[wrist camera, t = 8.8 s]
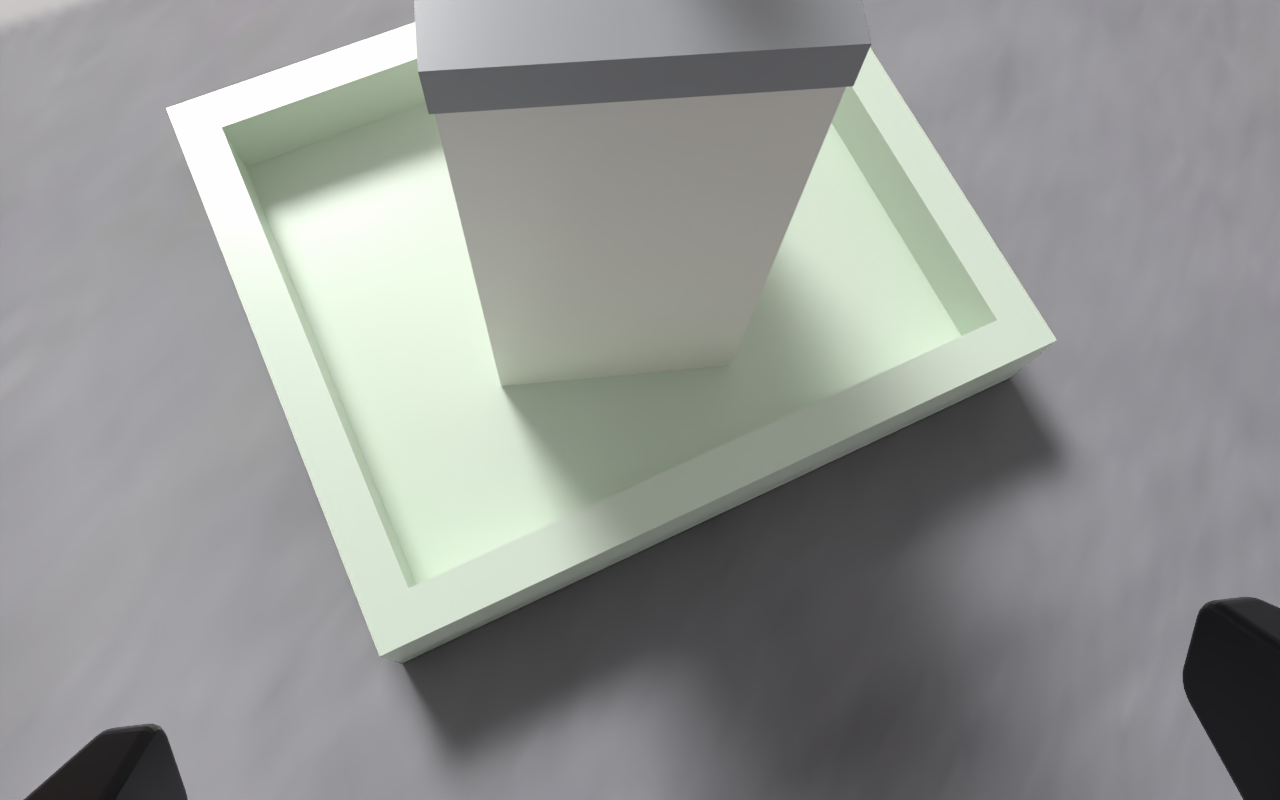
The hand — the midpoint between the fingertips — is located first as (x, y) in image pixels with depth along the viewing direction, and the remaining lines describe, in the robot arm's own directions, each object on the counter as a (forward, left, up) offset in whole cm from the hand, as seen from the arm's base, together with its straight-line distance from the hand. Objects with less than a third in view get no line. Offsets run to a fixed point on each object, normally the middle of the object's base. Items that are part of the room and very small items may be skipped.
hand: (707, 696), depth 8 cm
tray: (+4, -8, -9) cm, 13 cm away
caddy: (+4, -8, -9) cm, 12 cm away
